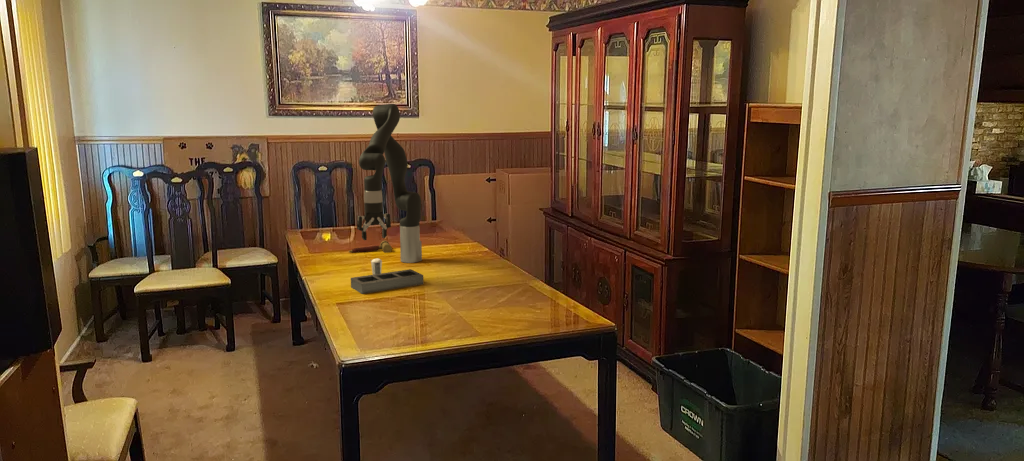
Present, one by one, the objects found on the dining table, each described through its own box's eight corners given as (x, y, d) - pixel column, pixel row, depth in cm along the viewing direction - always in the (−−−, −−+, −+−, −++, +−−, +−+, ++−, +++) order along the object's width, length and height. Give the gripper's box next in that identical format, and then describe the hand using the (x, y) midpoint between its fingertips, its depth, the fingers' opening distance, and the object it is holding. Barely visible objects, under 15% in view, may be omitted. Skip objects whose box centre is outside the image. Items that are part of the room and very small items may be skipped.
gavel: (349, 249, 345) (347, 245, 355) (350, 258, 346) (348, 253, 356) (391, 243, 352) (388, 240, 361) (392, 252, 352) (389, 248, 362)
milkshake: (370, 278, 301) (369, 255, 299) (383, 278, 302) (382, 255, 300) (369, 281, 297) (368, 258, 295) (381, 280, 297) (381, 257, 295)
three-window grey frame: (411, 278, 301) (410, 269, 301) (423, 284, 292) (423, 275, 291) (351, 287, 287) (350, 277, 286) (362, 294, 277) (361, 284, 276)
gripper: (385, 198, 300) (386, 235, 303) (353, 201, 292) (355, 239, 295) (392, 200, 294) (393, 238, 297) (360, 203, 286) (361, 242, 289)
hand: (374, 238), depth 296 cm, fingers open, 8 cm apart
